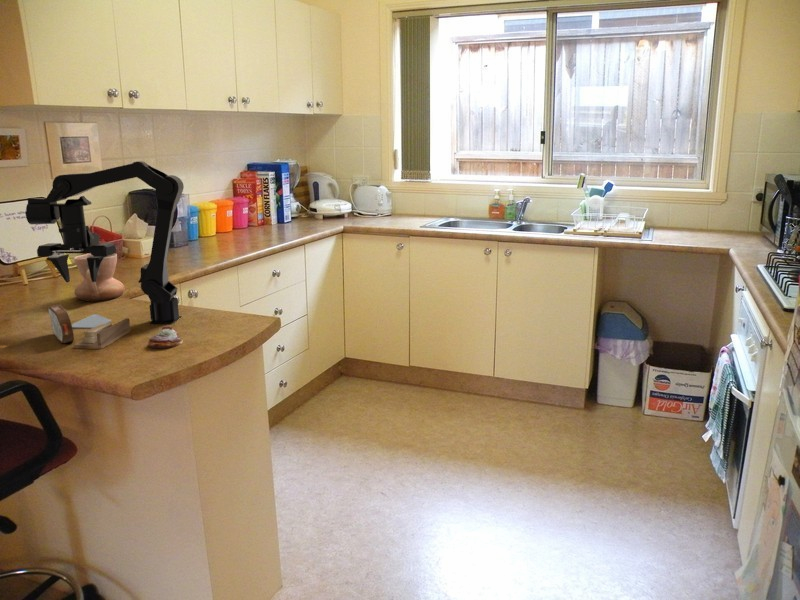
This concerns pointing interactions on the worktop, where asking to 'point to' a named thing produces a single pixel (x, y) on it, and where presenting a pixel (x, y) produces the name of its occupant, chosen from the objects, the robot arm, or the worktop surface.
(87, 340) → the offcut lower
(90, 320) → the slate mat
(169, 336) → the pastry
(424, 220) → the worktop surface
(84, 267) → the ceramic jug
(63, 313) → the tin
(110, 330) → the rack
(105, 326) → the offcut upper
